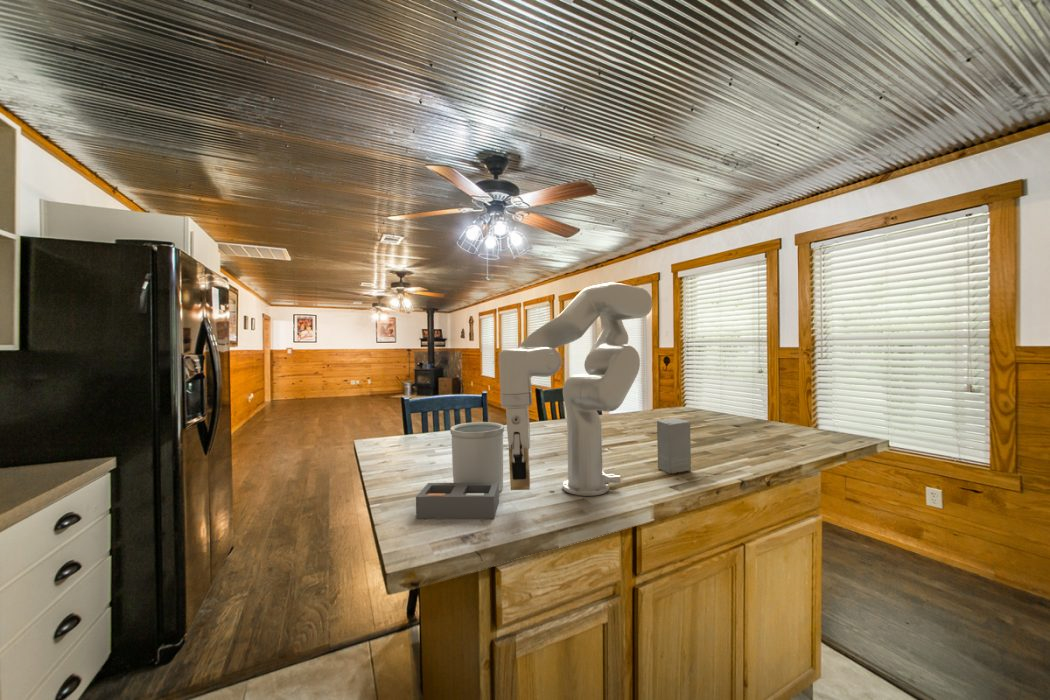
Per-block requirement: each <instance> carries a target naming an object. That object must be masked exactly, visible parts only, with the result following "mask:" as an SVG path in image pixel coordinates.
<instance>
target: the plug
mask: <svg viewBox="0 0 1050 700" xmlns="http://www.w3.org/2000/svg"><path fill="white" fill-rule="evenodd" d="M520 449H522V446H520ZM529 449H530V448H529ZM529 449H528V450H527V448H524V462H526V479H517V480H514V479H513V475H512V462H513V460H512V450H510V449H509V448H508V462H509V482H510V483H509V484H510V491H528V490H529V491H530V490H531V478H530V477H531V474H530V473H531V472H530V453H529V452H530V451H529ZM520 453H521V454H522V451H521V452H520Z"/></svg>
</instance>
